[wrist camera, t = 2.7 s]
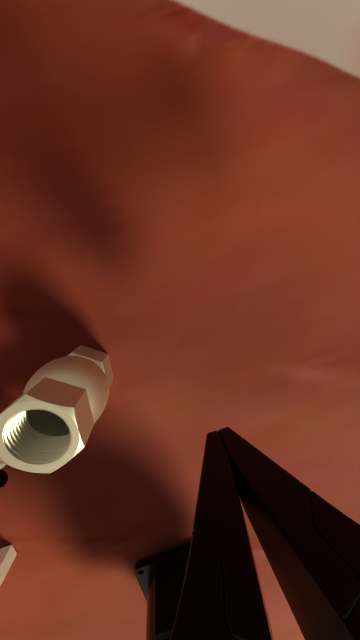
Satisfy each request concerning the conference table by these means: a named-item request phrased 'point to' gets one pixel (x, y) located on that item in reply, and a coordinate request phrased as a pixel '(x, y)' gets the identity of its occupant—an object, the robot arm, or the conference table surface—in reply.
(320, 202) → the conference table surface
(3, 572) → the frame
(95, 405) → the valve
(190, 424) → the conference table surface
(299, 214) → the conference table surface
